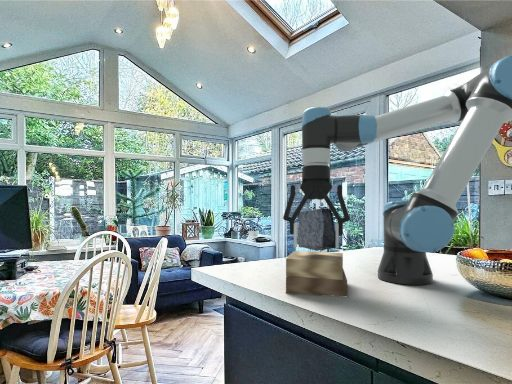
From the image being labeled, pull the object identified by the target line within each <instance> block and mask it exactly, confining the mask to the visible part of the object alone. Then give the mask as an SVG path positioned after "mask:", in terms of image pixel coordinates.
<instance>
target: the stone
mask: <svg viewBox="0 0 512 384" xmlns="http://www.w3.org/2000/svg"><path fill="white" fill-rule="evenodd" d="M297 218H298V229H297V246H298V248H304V249H307V250H313V251H315V252H319V251H320V252H322V251H323V252H324V251H326V250H331V249H336V248H335V222H334V214H333V213H332V211H331V209H330V208H329V207H328V208H327V207H322V208H316V209H311V210H306V211H300V213H299V214H298V216H297Z"/></svg>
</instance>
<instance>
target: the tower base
mask: <svg viewBox="0 0 512 384" xmlns="http://www.w3.org/2000/svg"><path fill="white" fill-rule="evenodd" d="M285 294H290V295H304V296H305V295H307V296H309V295H310V296H312V295H313V296H323V295H334V296H333V297H341V296H347V297H348V278H347V276H346V272H345V270H344V268H343V279H342V280H336V279H320V278H304V277H288V276H286V275H285Z"/></svg>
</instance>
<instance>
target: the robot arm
mask: <svg viewBox="0 0 512 384" xmlns="http://www.w3.org/2000/svg"><path fill="white" fill-rule="evenodd" d="M301 119H302V120H301V121H302V124H301V144H302V145H301V147H302V148H301V164H302V165H304V166H302V167H301V168H302V169H301V184H300V185H299V184H298V185H294V184H292V185H290V195H289V197H288V201H287V204H286V207H285V211H284V214H283V217H282V219H283V221H286V222H288V223H289V234H290V235H293V248H298V222H295V221H296V219H297V218H298V214H299V213H301V212H302V209H303V208H304V207H305V205H306V203H307V201H308V200H311V201H313V200H319V201H321V200H324V201H325V203H326V205H327V206H328V208H329V209H330V210H331V212H332V214H333V217H335V219H336V221H337V223H336V222H334V228H335V248H334V249H339V244H340V243H339V242H340V241H339V239H340V237H339V236H342V237H343V234H344V226H343V225H344V224H345V223H346V222H349V221H350V220H351V217H350V214H349V212H348V208H347V205H346V202H345V199H344V197H343V194H342V193H343V186H342V185H341V184H338V185H336V184H332V183H331V167H330V164H331V144H333V145H334V147H335V148H336V149H337V150H338V151H340V152H343V153H345V152H346V153H347V152H352V151H353V150H354V149H357V148H361V147H365V146H367V145H369V144H373V143H377V142H380V141H384V140H387V139H391V138H394V137H398V136H403V135H404V134H408V133H411V132H414V131H419V130H421V129H424V128H425V129H426V128H429V127H432V126H436V125H439V124H442V123H446V122H451V123H458V122H461V123H460V124H459V126H458V128H457V129H456V131H455V133H454V135H453V137H451V140H450V141H449V143H448V145H447V146H446V148H445V150H444V152H443V154H442V155H441V157H440V158H439V160H438V162H437V163H436V165H435V167H434V169H433V170H432V173H431V174H430V175H429V177H428V178H427V181H426V183H425V184H424V186H423V187H422V188H421V189H419V190H414V192H413V193H412V194H411V196H410V198H409V199H407V200H396V201H395V200H394V201H389V202H387V203H385V204H384V205H383V212H382V215H383V253H382V257H381V259H380V262H379V265H378V268H377V278H378V279H380V280H382V281H384V282H389V283H392V284H398V285H410V286H411V285H414V286H421V285H430V284H433V283H434V279H433V277H434V276H433V275H434V274H433V270H432V268H431V266H430V262H429V259H428V256H427V253H435V252H438V251H441V250H442V249H444V248H445V247H447V246H448V245H449V244H450V242H451V241H452V239H453V237H454V235H455V226H454V225H455V224H454V222H455V220H456V218H457V216H458V214H459V211H458V208H457V203H458V201H459V200H460V198H461V196H462V195H463V192H464V191H465V189H466V188H467V186H468V184H469V182H470V181H471V179H472V178H473V176H474V174H475V172H476V170H477V169H478V167H479V166H480V164H481V162H482V161H483V159H484V157H485V155H486V153H487V152H488V150H489V148H490V147H491V145H492V144H493V142H494V140H495V138H496V136H497V135H498V133H499V132H500V130H501V128H502V127H503V125H504V124H506V123H508V122H511V121H512V55H511V54H510V55H507V56H505V57H503V58H499V60H496V61H495V62H493V64H492V65H490V66H489V67H487V68H486V69H484V70H483V71H482V72H480V73H478V74H477V75H476V76H474V77H473V78H472V79H470V80H469V81H467V82H465V83H463V84H462V85H459V86H457V87H456V88H453V89H449V90H447V91H445V92H444V93H443V95H442V96H438V97H435V98H432V99H428V100H425V101H421V102H419V103H416V104H411V105H408V106H404V107H403V108H402V107H401V108H398V109H396V110H391V111H389V112H386V113H381V114H378V115H376V116H374V115H372V114H371V115H370V114H363V113H362V114H357V115H355V114H354V115H353V114H351V115H350V114H349V115H348V114H347V115H331V110H330V109H329V108H328V107H325V106H324V107H323V106H322V107H321V106H313V107H309V108H306V109H305V110H304V111H303V112H302V118H301ZM299 190H301V191H302V192H303V194H304V195H303V197H302V199H301V201H300V202H299V204H298V206H297V207H296V209H295V210H294V212H293V214H292V215H291V214H290V213H291V211H292V207H293V204H294V202H295V199H296V198H295V197H296V195H297V194H298V193H299ZM331 190H333V191H334V192H333V193H335V194H336V197H337V199H338V203H339V206H340V208H341V213H342V214H343V217H341V215H340V214H339V212H338V210H337V209H336V207H335V205H334V203H332V201H331V199H330V197H329V195H328V194H329V193H330V192H331ZM290 215H291V216H290Z"/></svg>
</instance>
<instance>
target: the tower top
mask: <svg viewBox="0 0 512 384" xmlns="http://www.w3.org/2000/svg"><path fill="white" fill-rule="evenodd" d="M343 254H344V253H343V252H328V251H325V252H324V251H323V252H322V251H301V250H293V251H292V252H291V253H290V254H288V256H287V257H286V258H285V277H286V276H288V277H304V278H320V279H336V280H342V279H343V269H344V267H343V266H344V263H343V262H344V259H343V258H344V255H343Z"/></svg>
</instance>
